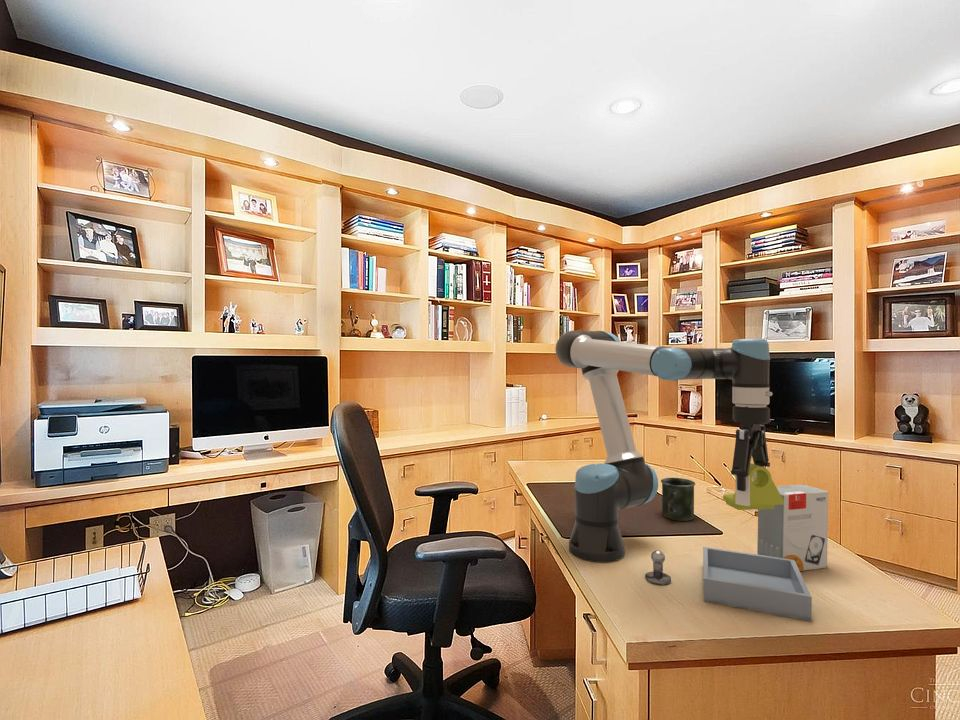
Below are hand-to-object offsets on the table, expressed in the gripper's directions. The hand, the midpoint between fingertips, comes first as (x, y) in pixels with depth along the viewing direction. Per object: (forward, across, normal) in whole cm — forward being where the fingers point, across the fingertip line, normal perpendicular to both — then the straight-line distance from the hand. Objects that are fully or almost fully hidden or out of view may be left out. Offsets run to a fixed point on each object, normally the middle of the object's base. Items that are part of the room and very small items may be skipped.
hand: (751, 499), depth 111 cm
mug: (+21, +39, +34) cm, 56 cm away
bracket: (+2, 0, 0) cm, 2 cm away
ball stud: (+21, -10, +18) cm, 29 cm away
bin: (+21, 0, 0) cm, 21 cm away
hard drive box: (+21, +23, -3) cm, 31 cm away
